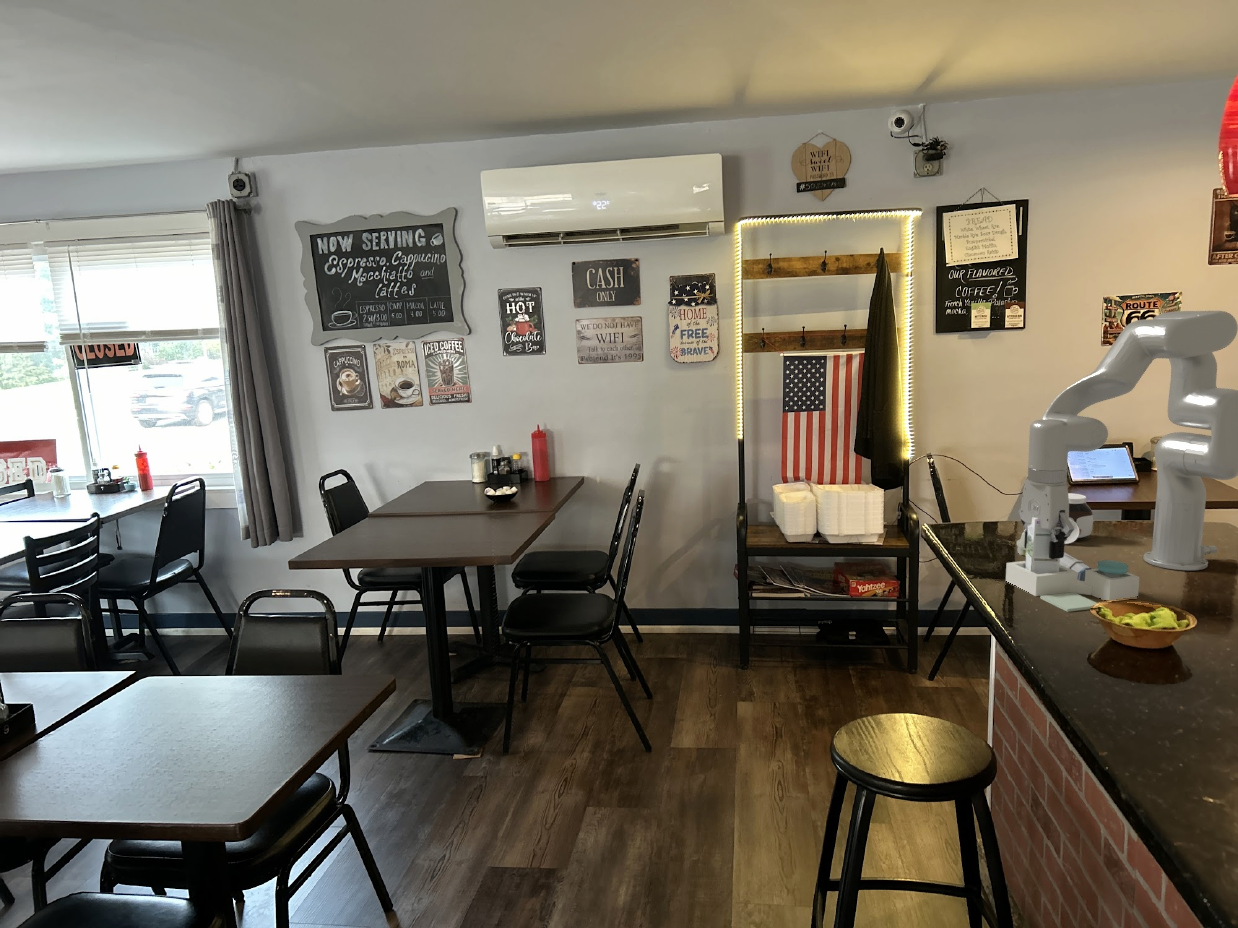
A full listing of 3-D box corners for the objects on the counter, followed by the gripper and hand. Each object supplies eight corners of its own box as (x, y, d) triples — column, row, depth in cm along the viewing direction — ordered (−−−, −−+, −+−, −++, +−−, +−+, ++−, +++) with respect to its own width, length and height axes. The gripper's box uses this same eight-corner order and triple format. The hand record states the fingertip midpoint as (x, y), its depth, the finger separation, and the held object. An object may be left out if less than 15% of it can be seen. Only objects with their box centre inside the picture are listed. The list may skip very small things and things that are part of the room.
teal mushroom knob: (1111, 586, 170) (1113, 559, 169) (1132, 594, 165) (1134, 566, 164) (1089, 588, 170) (1091, 561, 168) (1109, 597, 164) (1111, 569, 163)
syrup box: (1059, 582, 171) (1064, 518, 168) (1029, 580, 172) (1034, 517, 170) (1051, 574, 176) (1056, 513, 174) (1023, 573, 178) (1027, 511, 175)
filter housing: (1076, 573, 182) (1078, 553, 181) (1137, 599, 165) (1139, 576, 164) (1005, 581, 179) (1006, 560, 178) (1060, 608, 162) (1061, 585, 161)
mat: (1073, 594, 169) (1073, 592, 169) (1101, 607, 161) (1101, 604, 161) (1040, 598, 167) (1040, 595, 167) (1067, 611, 160) (1067, 608, 160)
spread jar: (1081, 533, 212) (1084, 492, 210) (1102, 545, 201) (1105, 502, 199) (1035, 534, 214) (1038, 493, 212) (1054, 546, 203) (1056, 503, 201)
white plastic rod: (1077, 568, 174) (1014, 525, 198) (1073, 594, 176) (1011, 549, 200) (1099, 566, 175) (1033, 524, 198) (1095, 593, 177) (1030, 547, 200)
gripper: (1005, 470, 178) (1003, 543, 181) (1060, 485, 161) (1056, 566, 164) (1035, 467, 179) (1031, 540, 182) (1092, 482, 162) (1087, 562, 165)
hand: (1043, 552), depth 173 cm, fingers closed on syrup box, 7 cm apart
